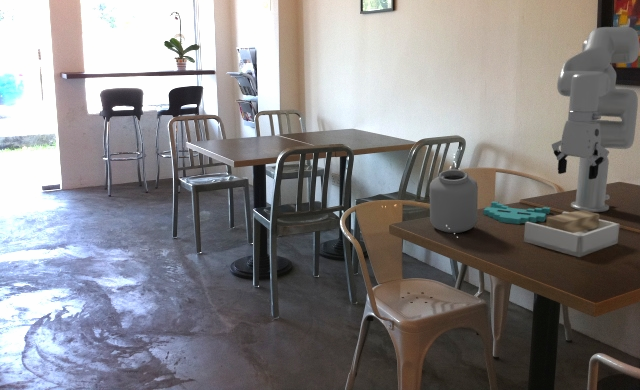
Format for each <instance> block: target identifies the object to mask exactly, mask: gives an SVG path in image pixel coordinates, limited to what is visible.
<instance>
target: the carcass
mask: <svg viewBox="0 0 640 390" xmlns="http://www.w3.org/2000/svg"><path fill="white" fill-rule="evenodd" d="M565 213H570V212H569V211H565V210H564V211H562V212H561V214H565ZM619 233H620V223H616V222H613V221H610V220H605V219H600V218H599V223H598V227H597V228H593V229H589V230H584V231H580V232H576V233H571V232H567V231H563V230H559V229H555V228H551V227H547V226H546V225H543V224H538V223H534V222H525V223H524V235H523V242H524V243H528V244H531V245H535V246H539V247H542V248H545V249H549V250H552V251H557V252H559V253H563V254H567V255H569V256H570V255H571V256H574V257H577V258H581V257H584V256H586V255H588V254H591V253H595V252H597V251H600V250H604V249H606V248H608V247H611V246H613V245H617V244H618V241H619Z"/></svg>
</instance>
